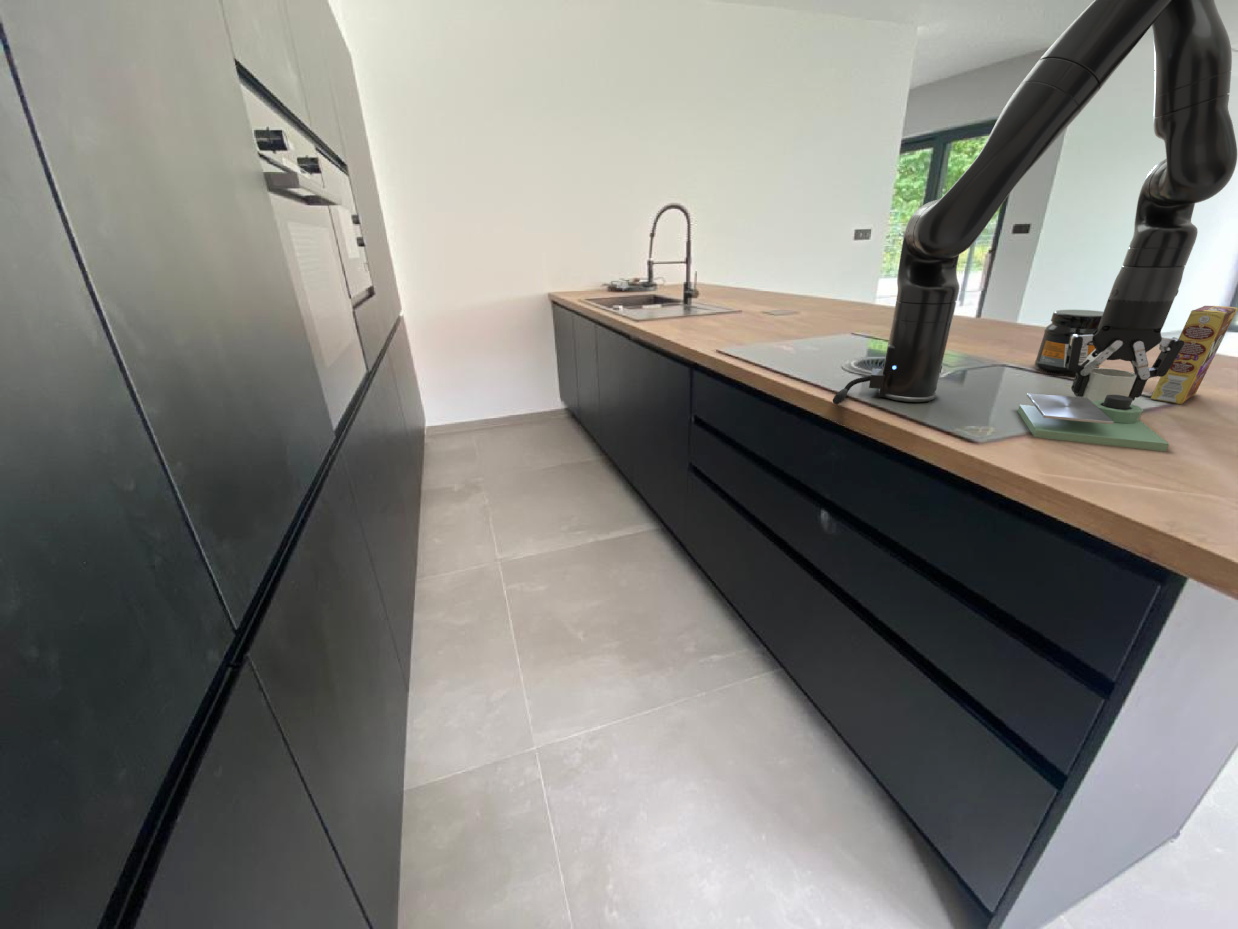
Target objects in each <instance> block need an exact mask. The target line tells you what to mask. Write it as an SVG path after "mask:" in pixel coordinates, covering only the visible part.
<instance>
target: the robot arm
mask: <svg viewBox="0 0 1238 929" xmlns="http://www.w3.org/2000/svg"><path fill="white" fill-rule="evenodd" d="M1150 28H1151V29H1152V30H1151V31H1152V36H1153V37H1152V38H1153V39H1152V40H1153V52H1154V70H1155V71H1154V98H1153V99H1154V100H1153V133H1154V135H1155V136H1156V138H1158V139H1160V140H1162V141H1163V142H1164V147H1165V159H1163V160H1161V161H1160V162H1158V163H1157V164H1156V165H1155V166H1154V167H1153V169H1151V171H1149V173H1148V174H1147V176H1146V177H1145V179H1144V181H1143V183H1142V186H1141V189H1140V191H1139V194H1138V199H1137V203H1136V210H1135V216H1134V224H1133V225H1134V227H1133V228H1134V230H1133V236H1132V239H1131V241H1130V243H1129V246H1128V248H1127V251H1126V254H1125V257H1124V259H1123V262H1122V266H1121V268H1120V269H1119V272H1118V274H1117V275H1116V277H1115V279H1114V282H1113V284H1112V287H1111V290H1110V293H1109V296H1108V298H1107V301H1106V304H1105V307H1104V309H1103V315H1102V318H1101V320H1100V323H1099V326H1098V328H1097V330H1096V331H1095V332H1094V333H1093V334H1092V335H1078V334H1073V335H1071V336H1070V339H1069V345H1068V350H1067V356H1066V361H1065V367H1066V368H1067V369H1068V370H1069V371H1073V372H1076V376H1074V379H1073V382H1072V384H1071V386H1070V387H1071V392H1073V395H1074V397H1082V396H1083V394H1084V391H1085V388H1086V386H1087V383H1088V380H1089V376H1088V374H1089V373H1090V372H1091V371H1092V370H1094V369H1095V368H1096V367H1097V366H1099V367H1100V366H1101V365H1102V364H1103V363H1104V362H1105V361H1117V360H1118V361H1119V360H1120V361H1124V362H1130V364H1131V366H1132V370H1133V373H1135V374H1137V378H1136V380H1135V383H1134V385H1133V388H1132V390H1131V392H1130V395H1129V397H1130V398H1132V399H1133V400H1132V402H1133V401H1135V399H1136V398H1137V399H1138V398H1140V397H1141V395H1142V393H1143V391H1144V389H1145V386H1146V383H1147V382H1148V381H1149V379H1151V378H1156V377H1162V376H1165V375H1166V374H1167V372H1168V370H1169V369H1170V367H1171V365H1172V364H1173V362H1174V360H1175V359H1176V357H1177V355H1178V354H1179V352H1180V350H1181V349H1182V347H1183V345H1184V341H1182V340H1180V339H1179V338H1178V337H1170V338H1169V337H1163V336H1162V329H1163V327H1164V325H1165V323H1166V320H1167V318H1168V316H1169V313H1170V311H1171V308H1172V305H1173V303H1174V301H1175V298H1176V297H1177V296H1178V295H1179V289H1180V287H1181V283H1182V280H1183V275H1184V272H1185V268H1186V266H1187V263H1188V261H1189V258H1190V256H1191V254H1192V251H1193V248H1194V246H1195V243H1196V241H1197V237H1198V233H1199V232H1198V231H1199V230H1198V227H1196V225H1194V224H1193V223H1192V218H1193V213H1194V211H1195V210H1194V209H1195V205H1196V204H1198V203H1201V202H1205V201H1207V200H1209V199H1211V198H1213V197H1214V196H1216V195H1217V194H1219V193H1220V192H1221V191H1222V190H1223V189H1224V188H1225V187H1226V186H1227V185H1228V184H1229V182H1230V181H1231V179H1232V178H1233V175H1234V173H1235V170H1236V167H1237V163H1238V145H1237V144H1238V143H1237V140H1236V134H1235V130H1234V124H1233V120H1232V117H1231V114H1230V111H1229V110H1230V109H1229V103H1230V102H1229V101H1230V93H1231V80H1232V66H1233V55H1232V45H1231V40H1230V37H1229V33H1228V32H1227V29H1226V26H1225V24H1224V22H1223V20H1222V17H1221V15H1220V13H1219V10H1218V7H1217V5H1216V2H1215V0H1093V1H1092V2H1091V3H1089V5H1088V6H1087V7H1086V8H1085V9H1084V10H1083V11H1082V12H1081V13H1079V15H1078V16H1077V18H1075V19H1074V20H1073V21H1072V22H1071V23H1070V25H1069V26H1067V28H1066V29H1065V30H1064V31H1063V32H1062V33H1061V34H1060V35H1059V37H1057V39H1056V40H1055V41H1054V42H1053V43H1052V44H1051V45H1050V47H1048V49H1047V50H1046V51H1045V52H1044V54H1043V55H1041V57H1040V58H1039V59H1038V61H1037V62H1036V63H1035V65H1034V66H1033V67H1032V68H1031V70H1030V71H1028V73H1027V75H1026V76H1025V77H1024V79H1023V80H1022V81H1021V82H1020V84H1019V85H1018V86H1017V88H1016V89H1015V90H1014V92H1013V93H1012V94H1011V96H1010V97H1009V99H1008V100H1007V102H1006V103H1005V105H1004V107H1003V108H1002V110H1001V112H1000V114H999V116H998V117H997V119H996V121H995V123H994V126H993V128H992V129H991V132H990V133H989V135H988V137H987V139H986V142H985V143H984V145H983V147H982V149H981V150H980V152H979V153H978V155H977V156H976V158H975V159H974V160H973V162H972V163H971V164H970V165H969V167H968V168H967V169H966V170H965V171H964V173H963V174H962V175H961V176H960V177H959V178H958V180H956V182H954V184H953V185H952V186H951V187H950V189H949V190H947V191H946V193H945V194H944V195H942V197H941V198H939V199H934V200H932V201H931V200H930V201H928V202H926V203H925V204H923V205H921V206H920V207H919V208H918V209H916V211H914V213H913V214H912V215H911V217H910V218H909V220H908V222H907V224H906V227H905V230H904V234H903V239H902V244H901V252H900V257H899V264H898V269H897V279H896V283H897V294H896V300H895V306H894V310H893V316H892V322H891V327H890V333H889V337H888V342H887V345H886V352H885V355H884V356H885V357H884V363H883V368H876V367H875V368H874V367H873V368H872V369H871V374H870V375H866V376H862V377H861V376H860V377H858V378H855V379H853V380H850V381H849V382H847V384H846V385H845V386H844V388H841V390H838V392H837V393H836V394H834V397H833V398H832V403H833V404H834V405H839V404H841V403H842V402H843V401H844V400H845V399H846V397H847V395H848V394H849V391H850V390H851V389H852V387H854V386H856V385H858V384H861V383H866V382H869V385H868V389H877V390H878V398H885V399H889V400H892V401H899V402H906V403H926V402H931V401H933V400H934V399H935V398H936V395H937V394H936V391H937V389H938V383H939V378H940V374H941V373H942V370H943V362H944V358H945V352H946V349H947V345H948V340H949V336H950V332H951V327H952V324H953V320H954V315H955V311H956V307H957V303H958V302H957V301H958V298H959V293H960V283H959V280H958V273H957V272H958V263H959V259H960V255H961V254H963V253H964V252H965V251H967V250H968V249H969V248H970V247H971V246H972V245H974V243H975V242H976V241H977V240H978V239H979V237H980V236H981V234H982V233H983V232H984V230H986V228H987V226H988V224H989V223H990V222H991V220H992V219H993V217H994V216H995V214H997V212H998V210H999V209H1000V208H1001V206H1002V205H1003V203H1004V202H1005V201H1006V199H1007V198H1008V197H1009V196H1010V194H1011V193H1012V191H1013V190H1014V189H1015V187H1016V186H1017V185H1018V184H1019V182H1020V181H1021V180H1022V179H1023V178H1024V176H1026V174H1027V173H1028V172H1029V171H1030V170H1031V169H1032V168H1033V167H1034V166H1035V165H1036V164H1037V163H1038V161H1039V160H1040V159H1041V158H1042V157H1043V156H1044V154H1046V153H1047V151H1048V150H1049V149H1050V148H1051V146H1052V145H1053V144H1054V143H1055V142H1056V141H1057V139H1058V138H1060V136H1061V135H1062V134H1063V132H1064V131H1065V130H1066V129H1067V128H1068V127H1069V126H1070V125H1071V124H1072V123H1073V121H1075V119H1076V118H1077V117H1078V116H1079V115H1080V114H1081V112H1082V111H1083V110H1085V108H1086V107H1087V106H1088V104H1089V103H1090V102H1091V101H1092V99H1093V98H1094V97H1095V96H1096V95H1097V94H1098V93H1099V91H1101V89H1102V88H1103V87H1104V86H1105V84H1106V83H1107V81H1108V80H1109V79H1110V77H1111V76H1112V75H1114V73H1115V71H1116V70H1117V69H1118V68H1119V67H1120V66H1121V64H1122V63H1123V62H1124V61H1125V59H1126V58H1127V57H1128V56H1129V54H1130V53H1131V52H1132V51H1133V50H1134V48H1135V47H1136V46H1137V45H1138V43H1140V41H1141V40H1142V38H1143V37H1144V36H1145V35H1146V34H1147V32H1148V31H1149V29H1150ZM1090 341H1092V343H1093V345H1094V347H1095V348H1096V349H1095V350H1094V351H1093V352H1092V353H1091V354H1089V355H1088V356H1087V358H1086V360H1085V361H1084V362H1083V363H1082V364H1081V365H1079V364H1078V363H1079V358H1080V353H1081V348H1084V347H1086V345H1087V343H1088V342H1090ZM1158 345H1159V347H1158V349H1159V351H1160V353H1159V354H1158V356H1157V358H1156V359H1155V361H1154V363H1153V364H1152V366H1151V367H1149V360H1148V356H1147V353H1148V352H1150V350H1152V349H1154V348H1155V347H1157V346H1158ZM1101 357H1102V358H1101Z"/></svg>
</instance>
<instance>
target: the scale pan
mask: <svg viewBox="0 0 1238 929" xmlns="http://www.w3.org/2000/svg"><path fill="white" fill-rule="evenodd" d="M1026 397H1027V398H1028V399H1029V400H1030V402H1031V403H1032V404H1033V406H1035V407H1036V408H1037V409H1038V411H1039V412H1040V413H1041V415H1042V416H1043V417H1044V418H1051V419H1062V420H1072V421H1083V422H1093V423H1104V424H1113V423H1114V422H1113V421H1112V420H1111V419H1110V418H1109V417H1108V416H1107V415H1106V414H1105V413H1104V412H1103V411H1101V410H1100V409H1099V408H1098V407H1097V406H1096V405H1095V404H1094V403H1093V402H1092V401H1091V400H1089V399H1088V398H1082V397H1077V396H1069V395H1068V396H1067V395H1056V394H1055V395H1054V394H1042V393H1032V392H1031V393H1030V392H1028V393H1027V394H1026Z"/></svg>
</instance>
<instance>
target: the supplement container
mask: <svg viewBox="0 0 1238 929" xmlns="http://www.w3.org/2000/svg"><path fill="white" fill-rule="evenodd" d="M1103 312H1104V310H1091V309H1058V310H1055V311H1053V313H1052V316H1051V318H1050V322H1051V323H1050V324H1048V325H1046V327H1045V328H1044V332H1043V333H1044V334H1043V335H1042V336H1043V337H1042V339H1041V342H1040V346H1039V348H1038V352H1037V356H1036V358H1035V360H1034V367H1035V368H1036V369H1037V370H1038V371H1041V372H1043V373H1047V374H1052V375H1058V376H1066V377H1075V376H1076V372H1073V371H1069V370H1068V369H1067V368H1066V367H1065V361H1066V356H1067V350H1068V345H1069V339H1070V336H1071V335H1073V334H1078V335H1092V334H1093V333H1094V332H1095V331H1096V330H1097V328H1098V326H1099V323H1100V320H1101V318H1102V315H1103ZM1095 349H1096V348H1095V347H1094V345H1093V343H1092V341H1090V342H1088V343H1087V345H1086V347H1084V348H1081V353H1080V358H1079V363H1078V364H1079V365H1081V364H1082V363H1083V362H1084V361H1085V360H1086V358H1087V356H1088V355H1089V354H1091V353H1092V352H1093V351H1094V350H1095ZM1101 358H1102V357H1101ZM1096 368H1100V365H1099V366H1097V367H1096Z"/></svg>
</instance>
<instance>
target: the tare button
mask: <svg viewBox="0 0 1238 929" xmlns="http://www.w3.org/2000/svg"><path fill="white" fill-rule="evenodd" d="M1132 400H1133V399H1132V398H1130V397H1127V396H1122V395H1107V396H1106V398H1105V400H1104V403H1103V406H1104V407H1107V408H1113V409H1120V410H1129V408H1130V405H1131V404H1132V403H1133V401H1132Z"/></svg>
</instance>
